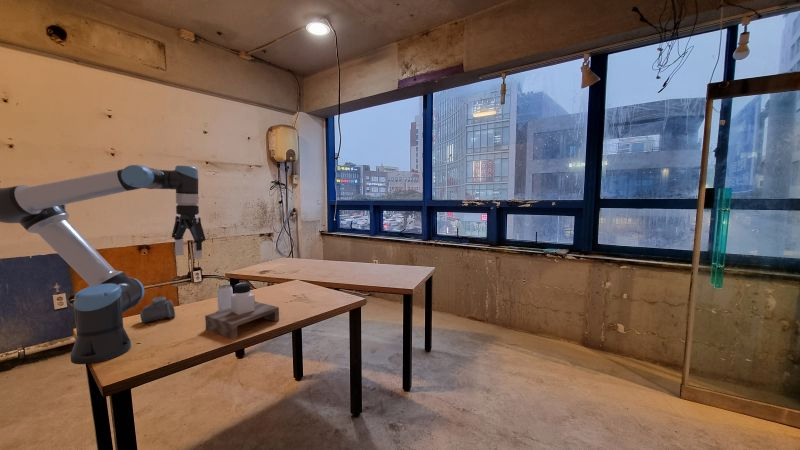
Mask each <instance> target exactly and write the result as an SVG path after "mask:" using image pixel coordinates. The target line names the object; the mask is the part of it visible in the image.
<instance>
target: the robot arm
mask: <svg viewBox="0 0 800 450" xmlns="http://www.w3.org/2000/svg"><path fill="white" fill-rule="evenodd" d="M174 168H175V169H174V170H169V169H168V170H167V169H158V168H152V167H148V166H145V165H141V164H140V165H139V164H129V165H128V166H126V167H124V168H121V169H116V170H111V171H110V170H109V171H106V172H101V173H100V172H99V173H95V174H90V175H85V176H80V177H76V178H75V177H74V178H70V179H69V178H68V179H63V180H59V181H53V182H49V183H43V184H39V185H33V186H29V185H27V184H26V185H25V184H20V185H14V186H9V187H2V188H0V223H3V224H20V225H21V226H22V227H23V228H24V229H25V230H26V231H27V232H28V233H32V234H37V235H39V236H40V237H41V239H43V240H44V242H46V244H47V245H49V246H50V247H51V248H52V249H53V251H54V252H56V253H57V255H59V257H60V258H62V259H63V260H64V261H65V262H66V263H67V264H68V265H69V266H70V267H71V269H73V270H74V271H75V272H76V273H77V275H78V276H80V277H81V279H83V280H84V282H86V284H87V285H88V286H87V287H85V288H82V289H80V290H79V291H78V292H76V293H75V295H74V300H73V301H74V302H73V308H74V318H75V330H76V331H75V332H76V338H75V341H74V345H73V347H72V349H71V353H70V362H71V363H72V364H74V365H88V364H94V363H95V364H96V363H99V362H103V361H107V360H109V359H110V360H111V359H113V358H117V357H118V356H121V355H123V354H125V353H127V352H128V351H130V349H131V348H132V342H131V338H130V336H129V335H128V333H127V332H126V330H125V328H124V318H123V314H124V313H125V312H127V311H129V310H131V309H133V308H134V307H136V306H137V305H138V304H139V303H140V302H141V301H142V299H143V298H144V295H145V287H144V285H143V283H142V282H141V281H140V280H138V279H136V278H133V277H129V276H128V275H127V274H126V273H125V272H124V271H121V270H116V269H114V267H113V266H112V265H111V264H110V263H109V262H108V261H107V260H106V259H105V258H104V257H103V256H102V255H101V254H100V253H99V251H98V250H96V248H94V247H93V246H92V244H90V243H89V241H88V240H87V239H86V238H85V237H84V236H83V235H82V234H81V233H80V232H79V231H78V230H77V229H76V228H75V226H73V224H72V223H70V221H69V218H70V214H69V213H68V212H67V210H66V207H67V205H68V204H72V203H73V204H74V203H78V202H82V201H83V202H84V201H88V200H91V199H95V198H101V197H106V196H110V195H115V194H120V193H124V192H130V191H135V190H140V189H147V190H175V203H176V204H177V205H176V206H175V213H176V216H175V218H174V219H175V221H174V226H173V229H172V233H171V238H172V239H174V246H175V247H174V248H175V249H174V253H175V256H176V257H177V256H183V255H184V239H185V238H184V235H185V234H186V233H185V232H187V231H186V230H187V229H188V230H189V232H190V234H191V236H192V238H193V259H194V260H198V259H203V255H202V254H203V246H202V245H203V242H205V241H206V236H205V232H204V228H203V225H202V221H201V220H202V219H201V217H200V216H198V215H199V213H200V211H199V210H200V209H199V205H198V204H199V200H200V197H199V179H200V178H199V172H198V168H197V167H195V166H192V165H176V166H174ZM196 215H197V216H196Z"/></svg>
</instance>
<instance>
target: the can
mask: <svg viewBox="0 0 800 450" xmlns="http://www.w3.org/2000/svg"><path fill="white" fill-rule="evenodd" d="M216 293H217V312H219V311H222V310H225V309H228V308H231V295H234V293H233V287H232V285H231V284H225V285H220V286H218V288H217V292H216Z"/></svg>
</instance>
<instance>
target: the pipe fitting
mask: <svg viewBox="0 0 800 450" xmlns="http://www.w3.org/2000/svg"><path fill="white" fill-rule="evenodd" d="M175 311H176V310H175V306H174V303H173V301H172V300H171V299H168V300H167V297H166V296H158V297H154V298H153V299H152V300H151V304H149V305H145V306H144V307H143V309H142V310H141V311H140V312H139V316H140V321H141V323H143V324H147V323H150V322H151V323H152V322H153V321H156V320H159V319H164V318H168V319H171V318H172V319H173V318H175V317H176V312H175Z"/></svg>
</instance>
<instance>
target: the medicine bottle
mask: <svg viewBox="0 0 800 450" xmlns="http://www.w3.org/2000/svg"><path fill="white" fill-rule="evenodd" d="M233 288H234V294H233V295H231V311H232V312H234V313H235V314H237V315H241V314H245V313H248V312H252V311H255V302H256V301H255V300H256V299H255V295H254V294H253V293H251V284H250V283H249V282H240V283H237V284H235V285H234V287H233Z"/></svg>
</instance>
